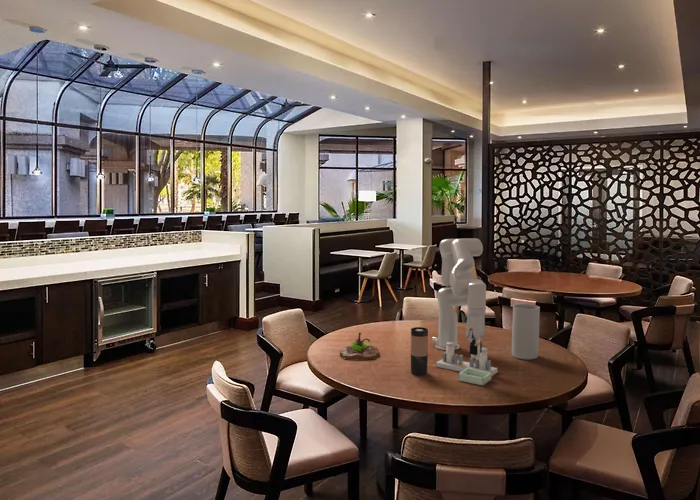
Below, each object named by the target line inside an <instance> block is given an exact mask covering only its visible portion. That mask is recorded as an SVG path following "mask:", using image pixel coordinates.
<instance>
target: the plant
mask: <svg viewBox="0 0 700 500" xmlns="http://www.w3.org/2000/svg"><path fill="white" fill-rule="evenodd" d="M361 335H362V333H361V332H358V336H357V337H358V338H356V339H355V340H354V341H351V344H350V345H347V346H343V347H342V349H341V350H340V351H339V357H341V356H342V357H341V359H343V358H345V359H344V360H347V359H364V360H363V361H369V360H368V359H372V360H375V359H374V358H376V359H377V358H378V357H377V356H379V357H380V350H379V348H378V347H375V346H374V345H373V346H372V345H371V344H370V342H371V339H370V338H364V339H362V340H361ZM367 342H368V343H367Z"/></svg>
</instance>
